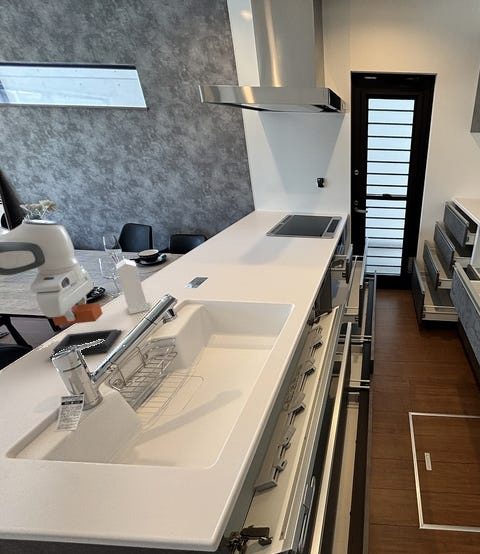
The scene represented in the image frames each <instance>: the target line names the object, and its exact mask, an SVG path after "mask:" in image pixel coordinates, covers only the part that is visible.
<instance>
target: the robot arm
mask: <svg viewBox="0 0 480 554" xmlns="http://www.w3.org/2000/svg"><path fill="white" fill-rule="evenodd" d="M34 269H36V270H37V274H36V277H35V278H34V280H33V282H32V283H31V284H30V287H29V288H30V290H31V292H32V293H35V294H36V295H35V298H36V302H37V304H38V306H39V309H40V310H41V312H42V314H43V315H44V316H45V317H47V318H52V317H59V316H63V315H64V316H65V317H66V319H67V321H74V320H75V319H76V318H77V316H76V314H73V313H72V312H71V311H72V309H71V308H72V307H73V306H74V305H82V304H87V295H88V294H89V293H90V292H92V290H94V288H95V287H94V282H93V281H94V280H93V279H92V277H91V275H90V273H89V271H88V270H86V269H85V267H84V266H83V265H82V264H80V261H79V259H78V258H77V256H76V255H75V247H74V245H73V242H72V240H71V236H70V235H69V232H68V231H67V229H66V228H65V227H64V226H63V224H61V223H59V222H57V221H54V220H48V219H27V220H24V221H23V222H22V223H21V224H20V225H18V226H16V227H15V228H13V229H8V228H6V227H3V226H0V276H12V275H19V274H22V273H25V272H28V271H31V270H34Z"/></svg>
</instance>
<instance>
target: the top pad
mask: <svg viewBox="0 0 480 554" xmlns="http://www.w3.org/2000/svg"><path fill="white" fill-rule="evenodd" d="M71 309H72V311H71V312H72V313H73V314H76V316H77V318H76V319H75V320H74V321H67V319H66V317H65V316H64V315H63V316H59V317H51V319H52V322H53V323H54V326H55V327H57V326H65V325H73V324H74V325H75V324H83V323H84V324H85V323H95V322H97V320H98V319H100V317H101V316H102V315H103V314H104V313H103V310H102V308H101V304H100V302H94V303H86V304H82V305H78V304H75V305H74V306H73V307H72V308H71Z"/></svg>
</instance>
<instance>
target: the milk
mask: <svg viewBox="0 0 480 554" xmlns="http://www.w3.org/2000/svg"><path fill="white" fill-rule="evenodd" d="M122 257H123V259H122V260H120V261H118V262H117V263H116V264H115V268H116V274H117V277H118V280H119V283H120V286H121V289H122V293H123V296H124V299H125V303H126V306H127V309H128V312H129V315H133V314H137V313H141V312H146V311H149V306H148V304H147V300H146V299H147V298H146V295H145V292H144V289H143V286H142V281H141V278H140V273H139V271H138V267H137V264H136V261H134V260H130V259H127V258H125V256H124V255H122ZM144 308H145V309H144ZM140 309H141V310H140Z"/></svg>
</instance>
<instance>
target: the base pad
mask: <svg viewBox="0 0 480 554" xmlns="http://www.w3.org/2000/svg"><path fill="white" fill-rule="evenodd" d="M121 334H122V330H121V329H117V328H115V329H105V330H97V331H95V330H94V331H88V332H87V331H86V332H78V333H70V334H67V335H66V336H65V337H64V338H63V339H62V340H61V341H60V342H59V343H58V344H56V346H55V347H54V348H53V349H52V352H53V353H52V354H51V355H50V356H49V358H50V361H53V360H52V357H53V355H55V354H56V353H58V352H59V351H61V350H63V349H66V348H68V347H70V346H73V345H82V344H85V343H90V342H93V341H96V340H98V339H104V340H105V341H103V342H102V343H100V344H97V345H95V346H91V347H89V348H85V349H83V350H81V353H82V355H83V356H82V357H86V356H92V355H93V356H94V355H100V354H107V353H108V352H109V350H110V349H111V348H112V346H113V345H114V344H115V342H116V341H117V339H118V338H119V337H120V335H121Z"/></svg>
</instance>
